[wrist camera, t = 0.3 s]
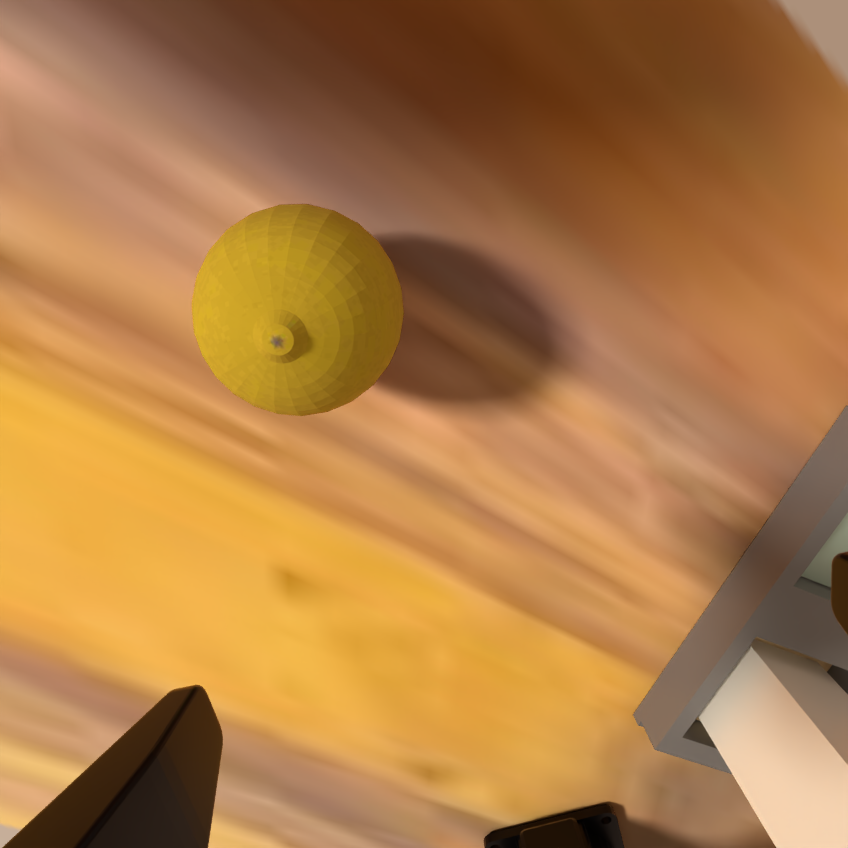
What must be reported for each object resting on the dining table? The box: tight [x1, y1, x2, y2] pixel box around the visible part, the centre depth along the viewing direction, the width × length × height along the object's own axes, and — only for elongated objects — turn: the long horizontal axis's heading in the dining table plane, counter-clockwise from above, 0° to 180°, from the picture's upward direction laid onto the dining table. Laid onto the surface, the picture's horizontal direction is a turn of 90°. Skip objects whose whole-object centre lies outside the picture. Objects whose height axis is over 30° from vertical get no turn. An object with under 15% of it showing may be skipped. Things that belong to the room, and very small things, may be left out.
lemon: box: [192, 204, 404, 416], centre depth 17 cm, size 6×6×8 cm
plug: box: [698, 639, 848, 848], centre depth 22 cm, size 4×4×9 cm
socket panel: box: [633, 406, 848, 774], centre depth 25 cm, size 16×7×2 cm, turn 156°
